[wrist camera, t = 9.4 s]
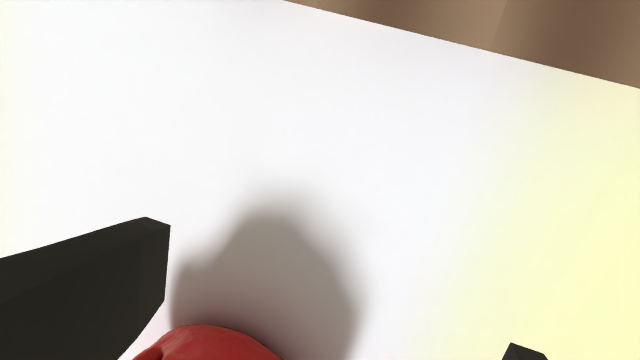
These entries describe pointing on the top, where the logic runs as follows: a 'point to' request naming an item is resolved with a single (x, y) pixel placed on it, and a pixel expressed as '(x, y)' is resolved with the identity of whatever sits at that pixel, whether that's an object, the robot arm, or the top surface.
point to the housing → (520, 29)
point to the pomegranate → (206, 345)
